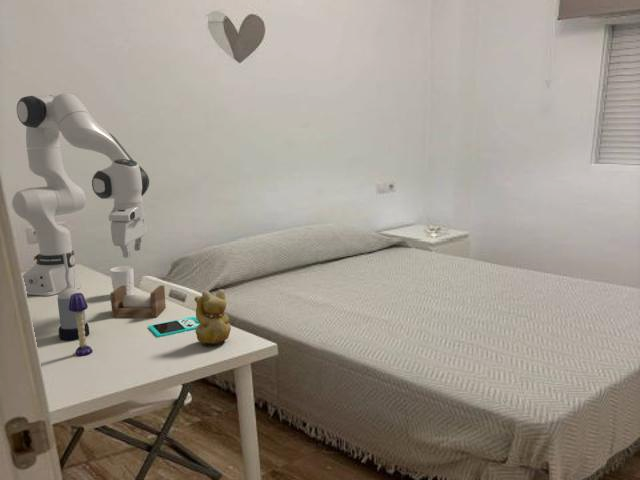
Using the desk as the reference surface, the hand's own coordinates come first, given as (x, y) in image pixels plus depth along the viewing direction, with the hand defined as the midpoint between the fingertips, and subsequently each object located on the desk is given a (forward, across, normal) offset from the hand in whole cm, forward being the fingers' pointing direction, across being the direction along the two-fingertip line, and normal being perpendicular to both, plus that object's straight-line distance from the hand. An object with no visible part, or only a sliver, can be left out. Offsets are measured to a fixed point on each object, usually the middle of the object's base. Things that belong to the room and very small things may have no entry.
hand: (132, 253), depth 178 cm
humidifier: (+20, +21, -10) cm, 31 cm away
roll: (+19, +1, +2) cm, 19 cm away
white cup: (+20, -18, -12) cm, 29 cm away
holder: (+20, +1, +2) cm, 20 cm away
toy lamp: (+20, +34, -2) cm, 39 cm away
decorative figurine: (+19, +26, +32) cm, 46 cm away
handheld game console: (+20, +14, +18) cm, 31 cm away
